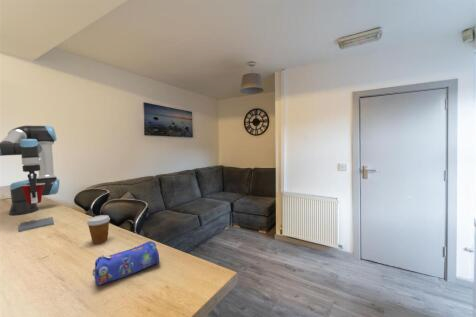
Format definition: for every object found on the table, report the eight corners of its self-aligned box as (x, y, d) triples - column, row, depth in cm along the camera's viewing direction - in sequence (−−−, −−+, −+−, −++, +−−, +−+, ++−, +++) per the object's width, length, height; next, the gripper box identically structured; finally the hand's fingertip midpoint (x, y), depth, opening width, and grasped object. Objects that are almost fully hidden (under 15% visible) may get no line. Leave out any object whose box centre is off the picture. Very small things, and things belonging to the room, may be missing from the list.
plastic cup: (51, 200, 132) (49, 181, 131) (33, 205, 121) (31, 185, 120) (36, 200, 133) (34, 181, 132) (16, 205, 122) (14, 185, 121)
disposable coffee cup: (100, 246, 98) (98, 222, 97) (83, 245, 100) (81, 221, 99) (115, 237, 107) (114, 215, 106) (100, 236, 109) (98, 214, 108)
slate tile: (20, 224, 128) (20, 223, 128) (52, 218, 139) (52, 216, 139) (18, 232, 118) (18, 230, 117) (53, 224, 128) (53, 222, 128)
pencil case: (94, 293, 68) (91, 264, 67) (91, 279, 74) (89, 254, 73) (162, 266, 81) (160, 242, 81) (155, 257, 88) (153, 235, 87)
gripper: (39, 165, 120) (43, 203, 122) (39, 163, 136) (42, 197, 137) (21, 166, 115) (25, 206, 117) (23, 164, 130) (26, 199, 132)
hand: (34, 201), depth 127 cm, fingers closed on plastic cup, 9 cm apart
